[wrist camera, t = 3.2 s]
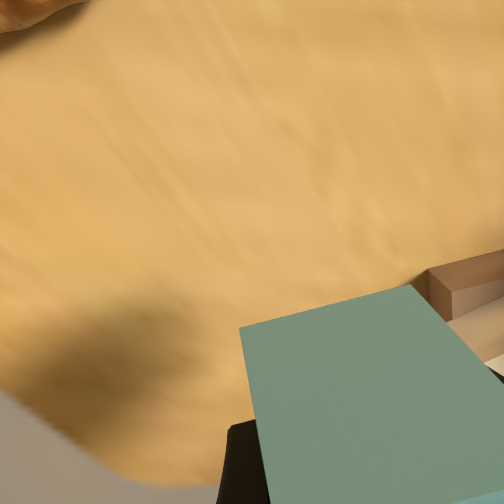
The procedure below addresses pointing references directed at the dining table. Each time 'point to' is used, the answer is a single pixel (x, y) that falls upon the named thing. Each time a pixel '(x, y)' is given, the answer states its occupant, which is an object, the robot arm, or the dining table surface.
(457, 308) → the tower base
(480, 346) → the tower top
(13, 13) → the pastry
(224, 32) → the dining table surface
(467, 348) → the teal block
